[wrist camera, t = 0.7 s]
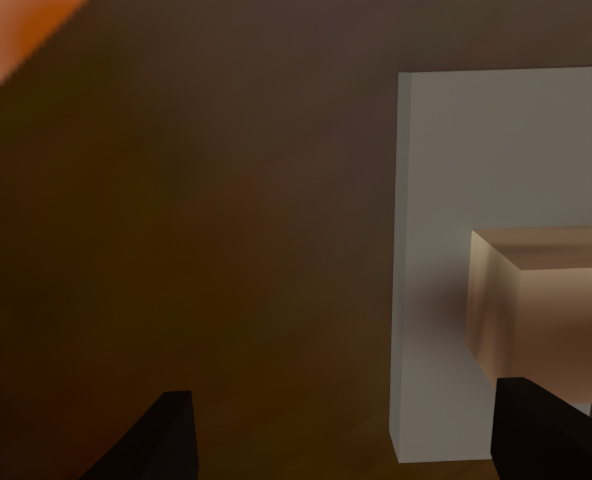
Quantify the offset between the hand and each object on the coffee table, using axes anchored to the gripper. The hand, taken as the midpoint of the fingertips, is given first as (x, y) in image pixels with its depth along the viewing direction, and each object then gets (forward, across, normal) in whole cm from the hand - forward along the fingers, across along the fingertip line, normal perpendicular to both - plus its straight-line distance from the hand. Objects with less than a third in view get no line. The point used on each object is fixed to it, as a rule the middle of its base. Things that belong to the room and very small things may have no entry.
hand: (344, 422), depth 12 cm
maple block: (+7, -8, 0) cm, 11 cm away
